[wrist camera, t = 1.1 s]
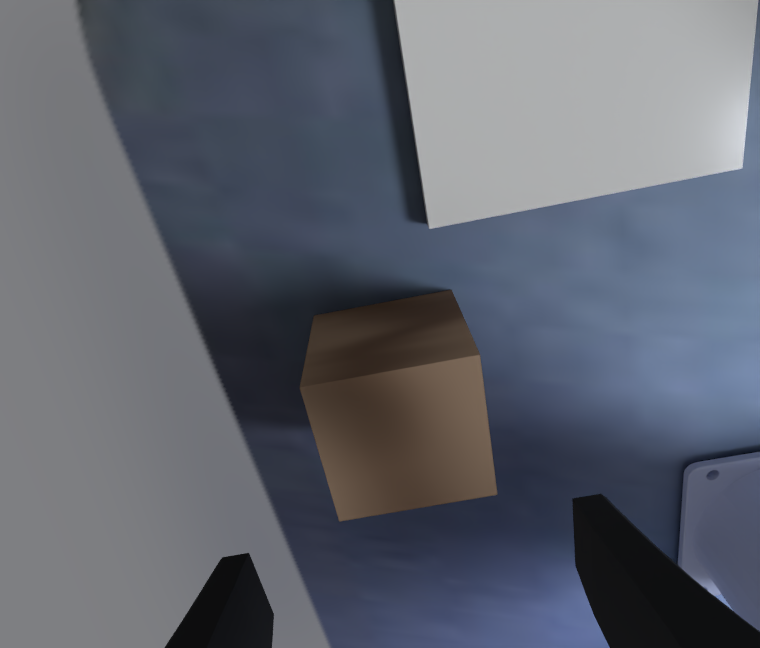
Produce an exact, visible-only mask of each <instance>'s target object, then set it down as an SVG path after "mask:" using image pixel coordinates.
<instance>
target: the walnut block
mask: <svg viewBox="0 0 760 648" xmlns="http://www.w3.org/2000/svg"><path fill="white" fill-rule="evenodd" d="M300 391H301V394H302V397H303V401H304V404H305V407H306V411H307V414H308V418H309V421H310V424H311V428H312V431H313V434H314V438H315V441H316V444H317V448H318V451H319V455H320V458H321V461H322V465H323V468H324V471H325V475H326V478H327V482H328V485H329V488H330V492H331V495H332V498H333V502H334V505H335V509H336V512H337V515H338V519H339V521H345V520H351V519H357V518H363V517H369V516H375V515H381V514H387V513H393V512H399V511H404V510H410V509H416V508H422V507H428V506H434V505H440V504H446V503H452V502H458V501H463V500H469V499H475V498H481V497H487V496H493V495H497V487H496V479H495V471H494V463H493V455H492V447H491V439H490V431H489V423H488V415H487V407H486V399H485V391H484V383H483V375H482V367H481V359H480V354H479V351H478V349H477V347H476V344H475V342H474V340H473V338H472V335H471V333H470V331H469V329H468V326H467V324H466V322H465V319H464V317H463V315H462V313H461V310H460V308H459V306H458V303H457V301H456V299H455V297H454V294H453V292H452V290H447V291H442V292H437V293H431V294H426V295H421V296H415V297H410V298H405V299H399V300H394V301H389V302H383V303H378V304H373V305H367V306H362V307H357V308H352V309H346V310H341V311H336V312H330V313H325V314H320V315H314V318H313V323H312V328H311V333H310V338H309V343H308V348H307V353H306V358H305V363H304V368H303V373H302V378H301V383H300Z"/></svg>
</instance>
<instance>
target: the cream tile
mask: <svg viewBox="0 0 760 648" xmlns="http://www.w3.org/2000/svg"><path fill="white" fill-rule="evenodd" d="M393 5H394V11H395V18H396V24H397V31H398V37H399V44H400V50H401V57H402V63H403V70H404V76H405V83H406V89H407V96H408V102H409V109H410V115H411V122H412V128H413V135H414V141H415V148H416V154H417V161H418V167H419V174H420V180H421V187H422V193H423V200H424V207H425V213H426V220H427V225H428V227H429V229H432V228H437V227H442V226H447V225H452V224H458V223H463V222H468V221H473V220H478V219H483V218H489V217H494V216H499V215H504V214H509V213H514V212H520V211H525V210H530V209H535V208H540V207H545V206H551V205H556V204H561V203H566V202H571V201H577V200H582V199H587V198H592V197H597V196H602V195H608V194H613V193H618V192H623V191H628V190H633V189H639V188H644V187H649V186H654V185H659V184H664V183H670V182H675V181H680V180H685V179H690V178H695V177H701V176H706V175H711V174H716V173H721V172H726V171H732V170H737V169H742V166H743V155H744V145H745V134H746V124H747V114H748V103H749V93H750V82H751V72H752V61H753V51H754V40H755V30H756V19H757V9H758V0H393Z"/></svg>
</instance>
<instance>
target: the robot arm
mask: <svg viewBox="0 0 760 648" xmlns="http://www.w3.org/2000/svg"><path fill="white" fill-rule="evenodd" d="M710 471H711V472H710ZM709 472H710V473H709ZM573 521H574V542H575V564H576V568H577V571H578V574H579V576H580V579H581V582H582V585H583V587H584V590H585V593H586V595H587V598H588V601H589V603H590V606H591V609H592V611H593V614H594V616H595V618H596V620H597V622H598V624H599V626H600V628H601V630H602V632H603V634H604V637H605V639H606V641H607V643H608V645H609V647H610V648H760V452H755V453H749V454H743V455H737V456H731V457H725V458H719V459H713V460H707V461H701V462H695V463H692V464H690V465H689V466H688V467H687V468H686V469H685V471H684V478H683V493H682V508H681V523H680V538H679V554H678V565H677V564H676V563H675V562H674V561H672V560H671V559H670V558H669V557H668V556H667V555H666V554H664V553H663V552H662V551H661V550H660V549H659V548H658V547H657V546H656V545H655V544H653V543H652V542H651V541H650V540H649V539H648V538H647V537H646V536H645V535H644V534H643V533H642V532H641V531H640V530H639V529H637V528H636V527H635V526H634V525H633V524H632V523H631V522H630V521H629V520H628V519H627V518H626V517H625V516H624V515H623V514H622V513H621V512H620V511H619V510H618V509H617V508H616V507H615V506H614V505H613V504H612V503H611V502H610V501H609V500H608V499H607V498H606V497H605V496H603V495H602V494H597V495H591V496H585V497H579V498H574V499H573ZM721 594H722V595H723V597H724V598H725V600H726V601H727V602H728V604H729V605H730V607H731V608H732V609H733V611H732V610H731V609H730V608H729V607H727V606H726V605H725V604H724V603H722V602H721V601H720V600H719V599H717V598H716V597H715V595H721ZM273 619H274V614H273V611H272V609H271V606H270V604H269V601H268V599H267V596H266V594H265V591H264V589H263V587H262V584H261V582H260V579H259V577H258V574H257V572H256V569H255V567H254V564H253V562H252V559H251V557H250V555H249V553H246V554H240V555H234V556H228V557H223V558H222V559H221V560H220V562H219V563H218V565H217V566H216V568H215V569H214V571H213V573H212V574H211V576H210V577H209V579H208V581H207V582H206V584H205V585H204V587H203V589H202V590H201V592H200V593H199V595H198V597H197V598H196V600H195V602H194V603H193V605H192V606H191V608H190V609H189V611H188V613H187V614H186V616H185V617H184V619H183V621H182V622H181V624H180V625H179V627H178V628H177V630H176V631H175V633H174V634H173V636H172V637H171V639H170V640H169V642H168V643H167V645H166V646H165V648H272V636H273Z"/></svg>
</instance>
